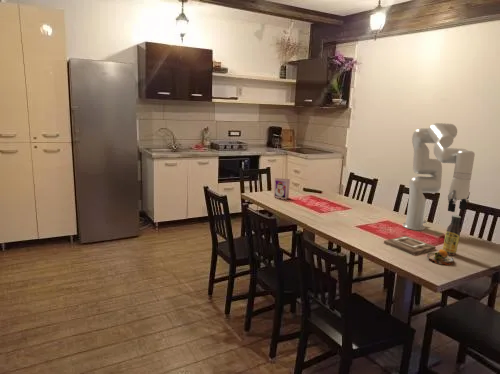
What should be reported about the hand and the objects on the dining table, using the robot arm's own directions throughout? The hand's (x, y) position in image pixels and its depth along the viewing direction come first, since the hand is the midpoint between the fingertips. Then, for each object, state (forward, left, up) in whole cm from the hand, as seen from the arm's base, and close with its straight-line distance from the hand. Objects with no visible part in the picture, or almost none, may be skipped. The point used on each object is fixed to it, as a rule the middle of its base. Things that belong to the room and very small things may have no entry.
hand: (456, 210), depth 187 cm
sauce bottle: (0, 0, -23) cm, 23 cm away
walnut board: (+10, -16, -23) cm, 30 cm away
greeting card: (+10, -128, -23) cm, 131 cm away
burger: (+13, +3, -23) cm, 27 cm away
